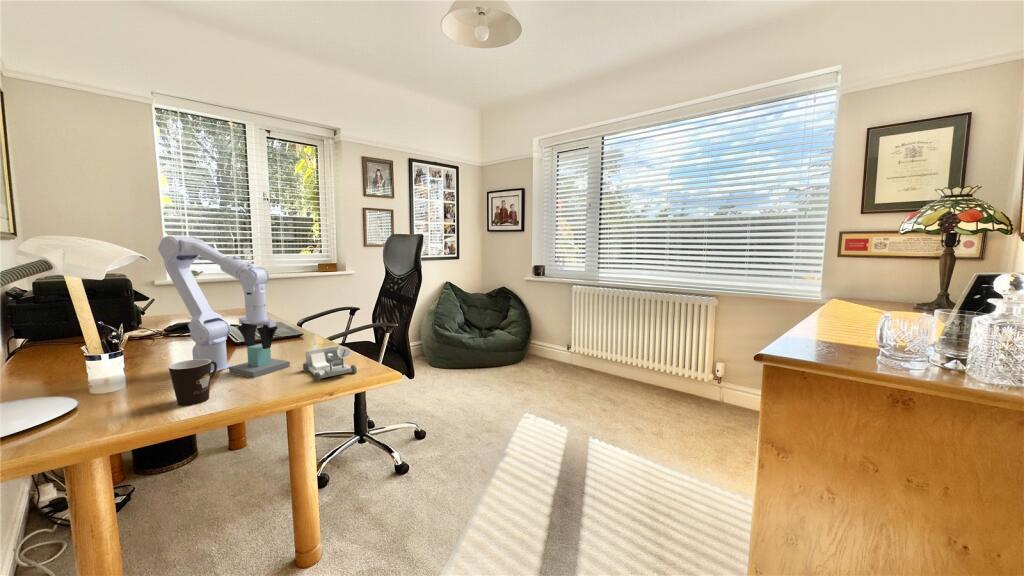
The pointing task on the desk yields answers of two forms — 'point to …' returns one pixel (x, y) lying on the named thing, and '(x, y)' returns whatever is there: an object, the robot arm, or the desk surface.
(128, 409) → the desk surface
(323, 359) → the toy car
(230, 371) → the slate base
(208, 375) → the coffee mug
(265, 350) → the teal block
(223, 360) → the robot arm
